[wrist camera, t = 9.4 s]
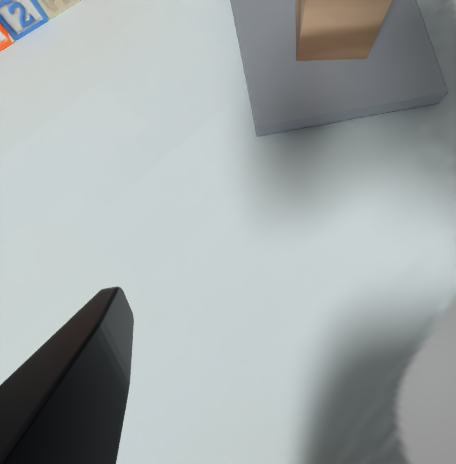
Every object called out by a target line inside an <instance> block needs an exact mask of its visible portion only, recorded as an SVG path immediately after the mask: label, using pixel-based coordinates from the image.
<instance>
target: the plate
mask: <svg viewBox="0 0 456 464" xmlns="http://www.w3.org/2000/svg"><path fill="white" fill-rule="evenodd" d="M230 1H231V6H232V11H233V16H234V21H235V26H236V31H237V37H238V42H239V47H240V52H241V57H242V62H243V67H244V72H245V77H246V83H247V88H248V93H249V98H250V103H251V108H252V113H253V118H254V123H255V128H256V134H257V136H262V135H267V134H273V133H278V132H284V131H289V130H294V129H300V128H305V127H311V126H316V125H322V124H327V123H333V122H338V121H344V120H349V119H355V118H360V117H365V116H371V115H376V114H382V113H387V112H393V111H398V110H404V109H409V108H415V107H420V106H426V105H431V104H437V103H439V102H440V101H441V100H442V98H443V97H444V96H445V95H446V94H447V93H448V91H447V88H446V85H445V82H444V79H443V76H442V73H441V70H440V68H439V65H438V62H437V59H436V56H435V53H434V50H433V47H432V45H431V42H430V39H429V36H428V33H427V30H426V27H425V24H424V21H423V19H422V16H421V13H420V10H419V7H418V4H417V1H416V0H392V1H391V4H390V6H389V8H388V11H387V13H386V15H385V17H384V20H383V22H382V24H381V27H380V29H379V31H378V34H377V36H376V38H375V41H374V43H373V45H372V47H371V50H370V52H369V54H368V57H367V59H347V60H313V61H296V18H295V2H296V0H230Z"/></svg>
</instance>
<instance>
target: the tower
mask: <svg viewBox="0 0 456 464" xmlns="http://www.w3.org/2000/svg"><path fill="white" fill-rule="evenodd" d="M391 1H392V0H296V2H295V18H296V61H313V60H347V59H367V57H368V54H369V52H370V50H371V47H372V45H373V43H374V41H375V38H376V36H377V34H378V31H379V29H380V27H381V24H382V22H383V20H384V17H385V15H386V13H387V11H388V8H389V6H390V4H391Z"/></svg>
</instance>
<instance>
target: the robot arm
mask: <svg viewBox="0 0 456 464" xmlns="http://www.w3.org/2000/svg"><path fill="white" fill-rule="evenodd" d="M133 325H134V319H133V313H132V310H131V308H130V306H129V303H128V301H127V299H126V296H125V294H124V292H123V290H122V289H121V288H120V287H111V288H106V289H102V290H101V291H99V292H98V293H97V294H96V295H95V296H94V297H93V298H92V299H91V300H90V301H89V302H88V303H87V304H86V305H85V306H83V307H82V308H81V309H80V310H79V311H78V312H77V313H76V314H75V315H74V316H73V317H72V318H71V319H70V320H69V321H68V322H67V323H66V324H65V325H63V326H62V327H61V328H60V329H59V330H58V331H57V332H56V333H55V334H54V335H53V336H52V337H51V338H50V339H49V340H48V341H47V342H46V343H44V344H43V345H42V346H41V347H40V348H39V349H38V350H37V351H36V352H35V353H34V354H33V355H32V356H31V357H30V358H29V359H28V360H27V361H25V362H24V363H23V364H22V365H21V366H20V367H19V368H18V369H17V370H16V371H15V372H14V373H13V374H12V375H11V376H10V377H9V378H8V379H6V380H5V381H4V382H3V383H2V384H1V385H0V464H116V460H117V454H118V449H119V443H120V437H121V432H122V426H123V420H124V415H125V409H126V403H127V398H128V392H129V385H130V374H131V358H132V341H133Z"/></svg>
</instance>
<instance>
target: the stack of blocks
mask: <svg viewBox="0 0 456 464" xmlns="http://www.w3.org/2000/svg"><path fill="white" fill-rule="evenodd" d="M79 1H81V0H0V51H1V50H3V49H5V48H6V47H8V46H9V45H11V44H13V43H14V42H15V40H18V39H20V38H21V37H23V36H25V35H26V34H28V33H29V32H31V31H33V30H34V29H36V28H38V27H39V26H41V25H42V24H44V23H46V22H47V21H48V20H49V19H52V18H53V17H55V16H57V15H58V14H60V13H61V12H63V11H65V10H66V9H68V8H70V7H71V6H73V5H75V4H76V3H78V2H79Z"/></svg>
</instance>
